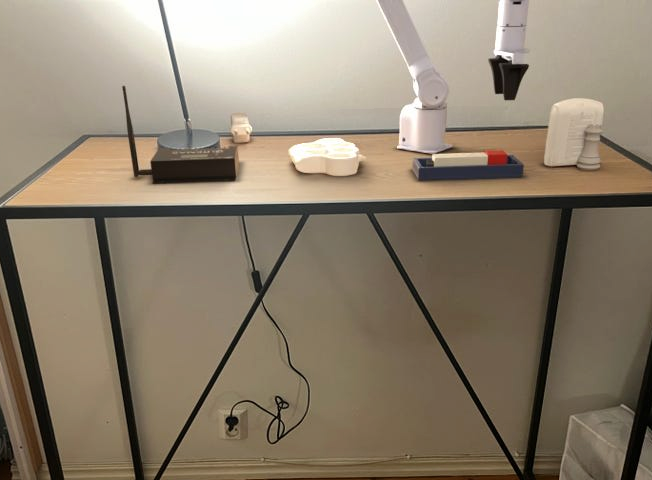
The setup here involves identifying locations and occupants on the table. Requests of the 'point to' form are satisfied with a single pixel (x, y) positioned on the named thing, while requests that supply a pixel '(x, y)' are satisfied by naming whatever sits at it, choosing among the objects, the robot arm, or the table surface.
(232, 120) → the power adapter
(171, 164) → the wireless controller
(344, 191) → the table surface
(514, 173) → the tray
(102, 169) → the table surface
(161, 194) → the table surface
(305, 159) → the white lobed tray
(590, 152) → the rook chess piece
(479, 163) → the marker
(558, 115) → the photo printer
